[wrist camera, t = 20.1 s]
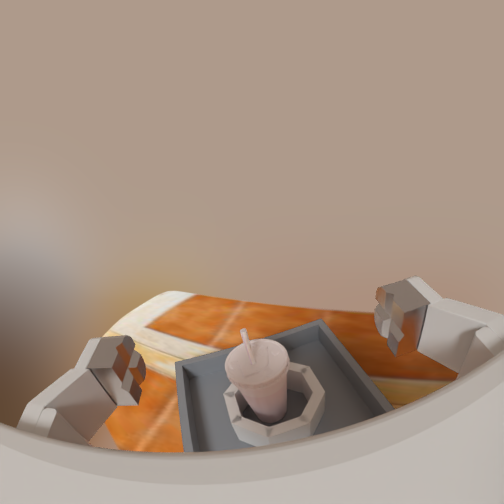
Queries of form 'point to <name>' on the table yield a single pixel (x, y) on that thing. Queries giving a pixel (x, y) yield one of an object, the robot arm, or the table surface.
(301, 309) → the table surface
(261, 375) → the smoothie
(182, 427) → the tray
